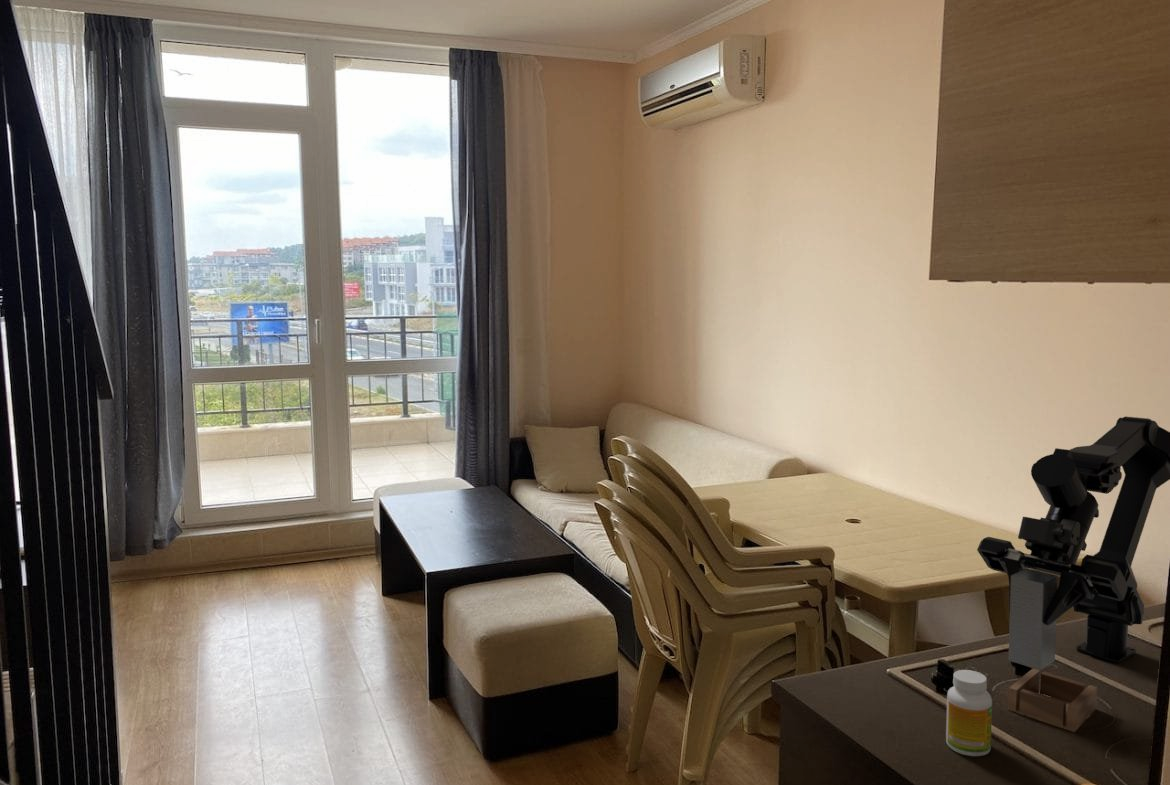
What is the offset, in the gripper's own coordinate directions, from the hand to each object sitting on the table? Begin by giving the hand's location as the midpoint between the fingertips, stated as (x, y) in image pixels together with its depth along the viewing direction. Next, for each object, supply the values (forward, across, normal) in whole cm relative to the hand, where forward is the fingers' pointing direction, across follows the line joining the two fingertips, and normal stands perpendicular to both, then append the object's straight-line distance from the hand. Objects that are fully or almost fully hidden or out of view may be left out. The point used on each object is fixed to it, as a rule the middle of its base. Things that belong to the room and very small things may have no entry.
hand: (1028, 618), depth 122 cm
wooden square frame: (+8, +2, +11) cm, 14 cm away
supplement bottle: (+20, 0, -1) cm, 20 cm away
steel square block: (+4, 0, +6) cm, 7 cm away
